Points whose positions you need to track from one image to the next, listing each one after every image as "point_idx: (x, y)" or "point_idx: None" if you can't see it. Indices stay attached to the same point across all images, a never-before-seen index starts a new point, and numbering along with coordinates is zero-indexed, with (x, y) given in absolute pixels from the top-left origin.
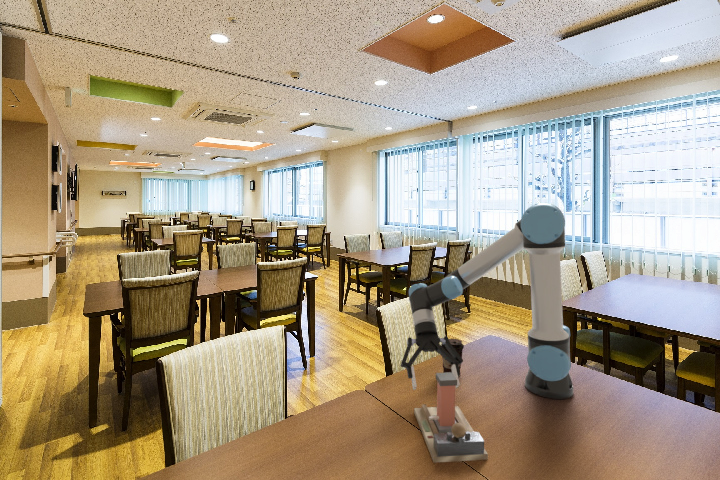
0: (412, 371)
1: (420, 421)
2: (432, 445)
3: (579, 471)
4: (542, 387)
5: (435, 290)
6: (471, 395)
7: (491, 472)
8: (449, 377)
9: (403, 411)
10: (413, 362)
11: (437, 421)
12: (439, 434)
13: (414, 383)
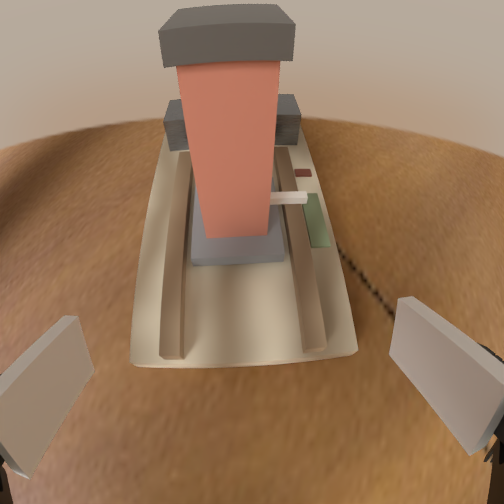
0: (484, 353)
1: (333, 248)
2: (299, 148)
3: (43, 139)
4: None
5: None
6: (49, 468)
7: None
8: (211, 10)
9: (394, 362)
10: (495, 495)
11: (269, 216)
12: (283, 112)
13: (422, 306)
